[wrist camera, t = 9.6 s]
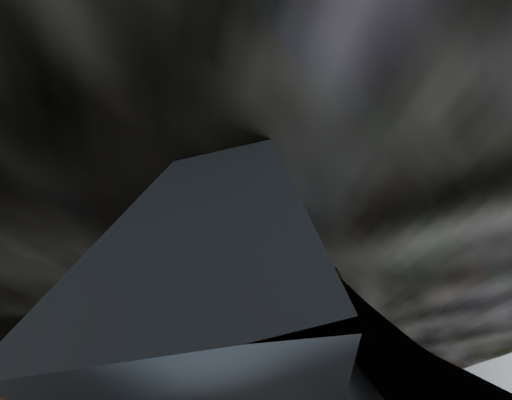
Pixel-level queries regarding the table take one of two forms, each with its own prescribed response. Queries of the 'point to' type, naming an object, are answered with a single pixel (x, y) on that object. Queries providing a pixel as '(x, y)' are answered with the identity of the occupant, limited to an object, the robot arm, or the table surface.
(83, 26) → the table surface
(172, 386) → the blue-grey rectangular block
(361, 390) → the robot arm
